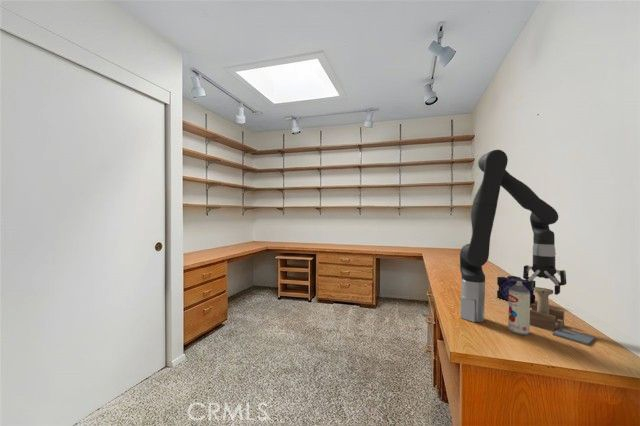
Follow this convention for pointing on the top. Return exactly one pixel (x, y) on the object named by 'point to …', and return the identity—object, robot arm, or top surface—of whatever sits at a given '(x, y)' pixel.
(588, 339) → the mat
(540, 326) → the frame
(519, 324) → the aerosol can
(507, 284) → the energy cube
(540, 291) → the handle
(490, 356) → the top surface
